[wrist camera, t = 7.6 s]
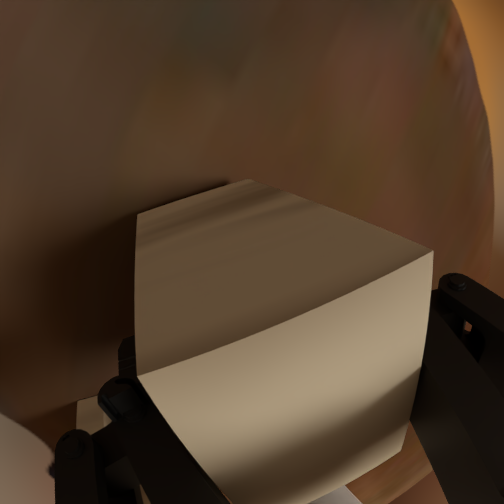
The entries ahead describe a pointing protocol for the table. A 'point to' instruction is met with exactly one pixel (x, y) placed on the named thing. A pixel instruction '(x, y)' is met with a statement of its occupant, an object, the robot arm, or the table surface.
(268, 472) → the squeegee
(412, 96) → the table surface
